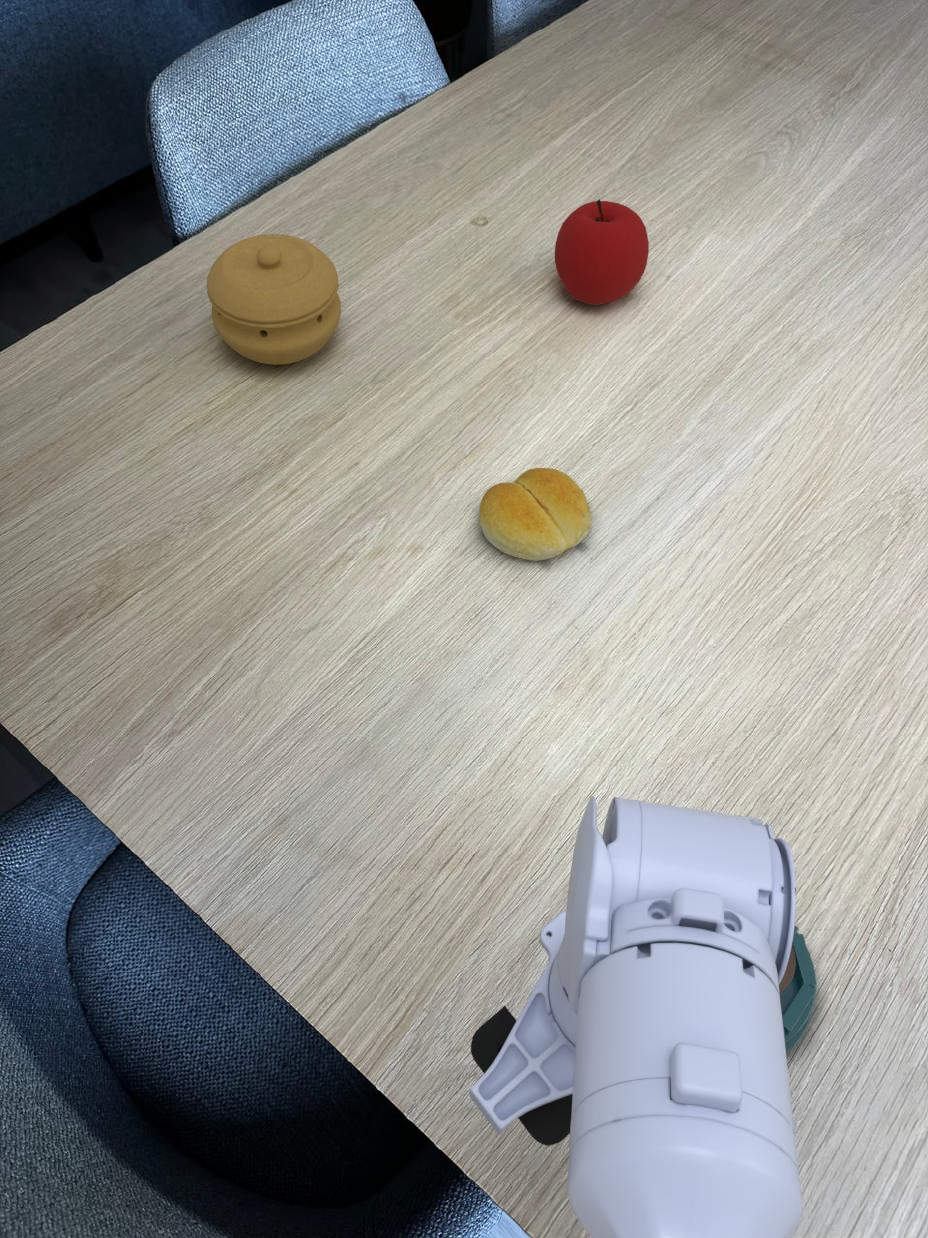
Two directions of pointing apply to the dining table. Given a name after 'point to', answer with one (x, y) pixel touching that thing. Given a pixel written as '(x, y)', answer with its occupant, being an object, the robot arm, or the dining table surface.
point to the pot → (274, 298)
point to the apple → (601, 252)
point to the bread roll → (535, 515)
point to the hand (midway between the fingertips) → (589, 1032)
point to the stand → (798, 994)
